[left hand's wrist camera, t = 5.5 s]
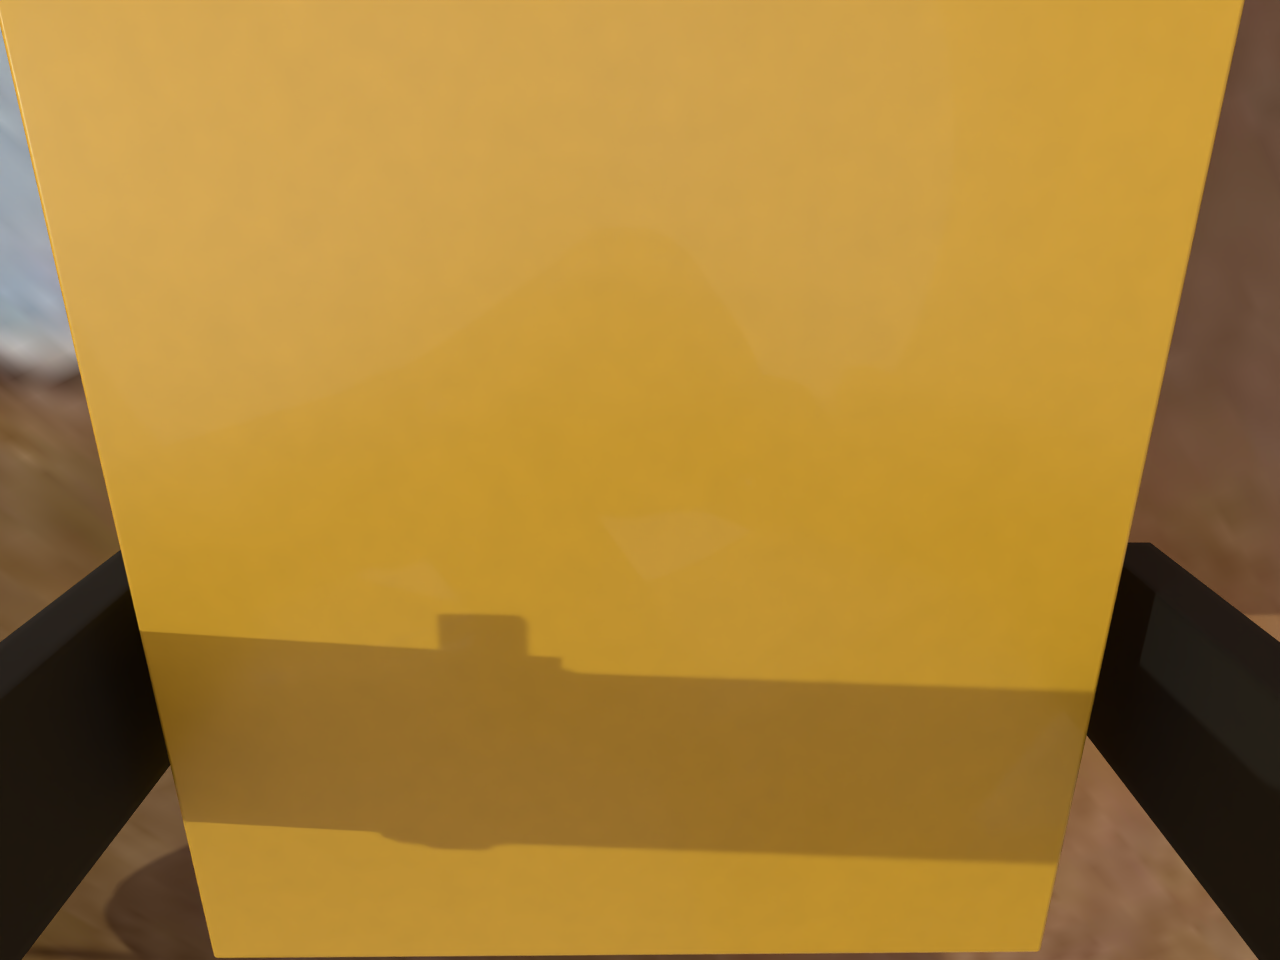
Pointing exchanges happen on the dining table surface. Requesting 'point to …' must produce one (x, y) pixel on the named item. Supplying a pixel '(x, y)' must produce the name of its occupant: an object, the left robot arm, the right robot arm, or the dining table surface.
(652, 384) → the yellow rectangular block
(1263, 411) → the dining table surface
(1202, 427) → the dining table surface
